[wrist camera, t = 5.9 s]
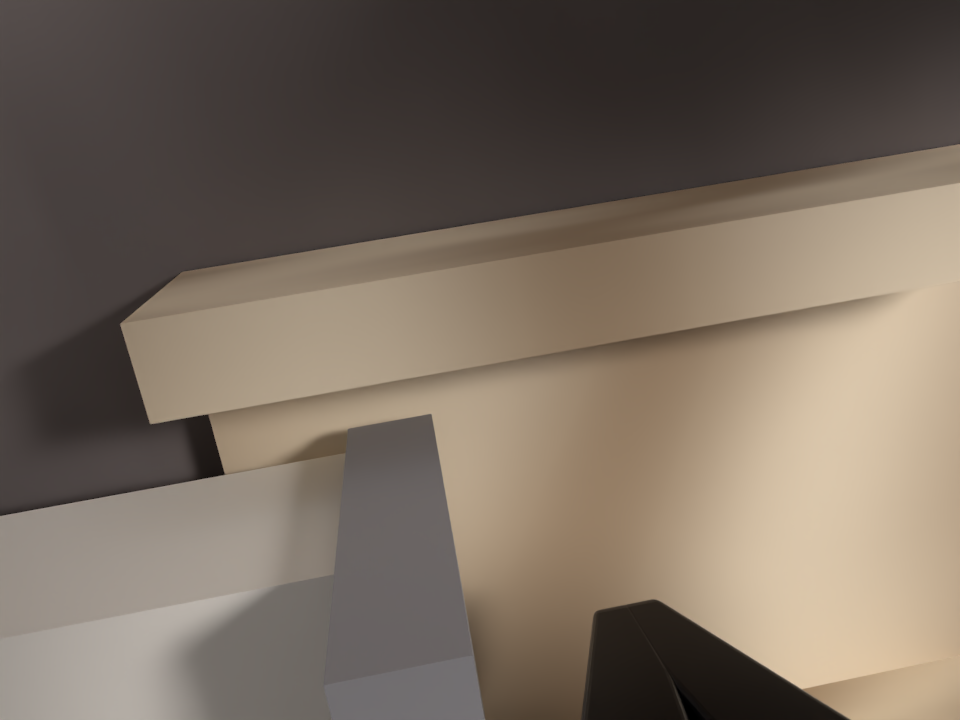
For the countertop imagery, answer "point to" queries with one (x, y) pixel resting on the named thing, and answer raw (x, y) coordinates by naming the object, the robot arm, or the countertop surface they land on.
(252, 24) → the countertop surface
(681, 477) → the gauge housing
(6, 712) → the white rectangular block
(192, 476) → the countertop surface
